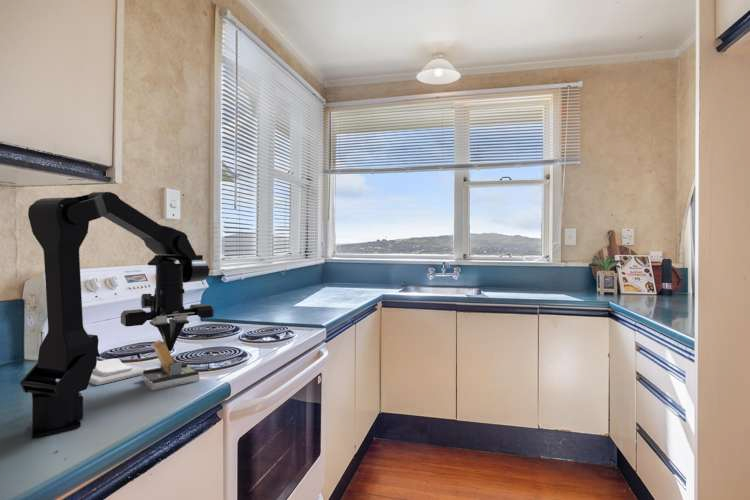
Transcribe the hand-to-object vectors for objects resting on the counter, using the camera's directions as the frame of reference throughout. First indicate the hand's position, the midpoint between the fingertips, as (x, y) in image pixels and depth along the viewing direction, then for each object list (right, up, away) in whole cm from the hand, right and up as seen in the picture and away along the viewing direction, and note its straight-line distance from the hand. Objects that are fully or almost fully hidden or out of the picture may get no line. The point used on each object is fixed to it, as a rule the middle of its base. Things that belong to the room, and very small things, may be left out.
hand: (169, 350), depth 93 cm
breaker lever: (0, -5, 0) cm, 5 cm away
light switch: (-16, -8, +4) cm, 18 cm away
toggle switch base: (0, -7, 0) cm, 7 cm away
